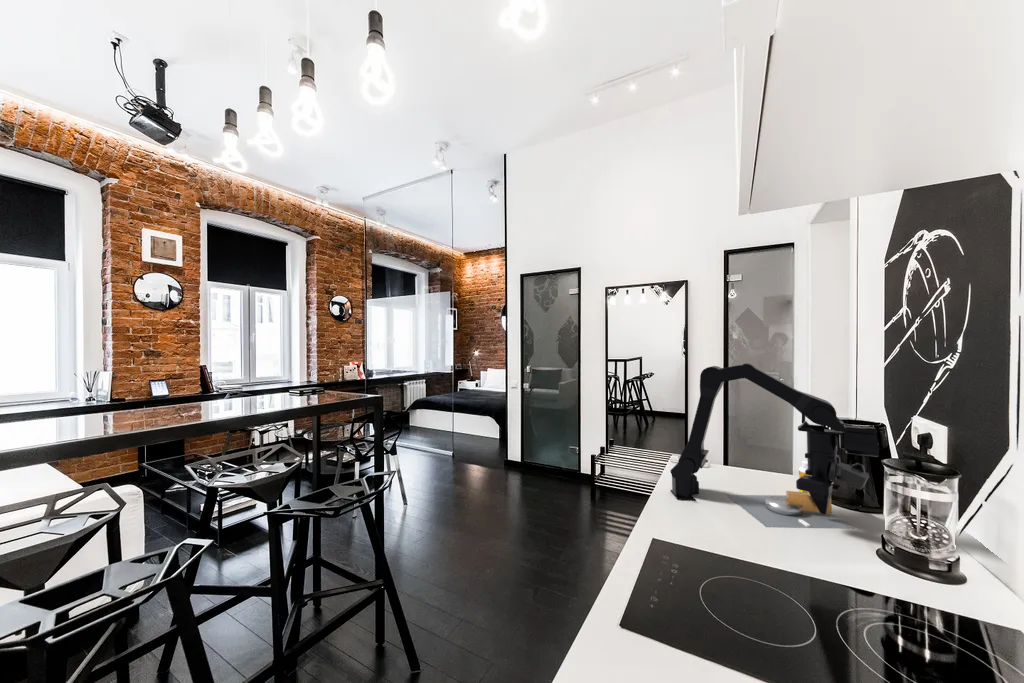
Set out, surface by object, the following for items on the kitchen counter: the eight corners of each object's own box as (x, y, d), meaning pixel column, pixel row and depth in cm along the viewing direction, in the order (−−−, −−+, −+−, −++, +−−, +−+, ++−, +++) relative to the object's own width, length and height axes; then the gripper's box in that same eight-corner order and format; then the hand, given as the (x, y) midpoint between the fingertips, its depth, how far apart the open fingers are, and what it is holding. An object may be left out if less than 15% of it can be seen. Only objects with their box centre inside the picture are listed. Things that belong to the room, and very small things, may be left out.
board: (766, 532, 91) (766, 525, 91) (726, 499, 111) (725, 493, 111) (855, 533, 90) (854, 526, 90) (798, 499, 110) (797, 494, 110)
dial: (769, 513, 98) (769, 495, 98) (762, 501, 106) (761, 484, 106) (837, 521, 93) (836, 502, 93) (823, 508, 101) (823, 490, 101)
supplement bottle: (797, 492, 115) (795, 458, 115) (819, 495, 113) (818, 460, 113) (803, 499, 110) (801, 464, 110) (827, 502, 108) (825, 466, 108)
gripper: (856, 464, 83) (858, 537, 83) (872, 450, 95) (874, 514, 94) (794, 454, 92) (796, 519, 91) (816, 442, 103) (818, 500, 103)
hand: (823, 513), depth 95 cm, fingers closed
